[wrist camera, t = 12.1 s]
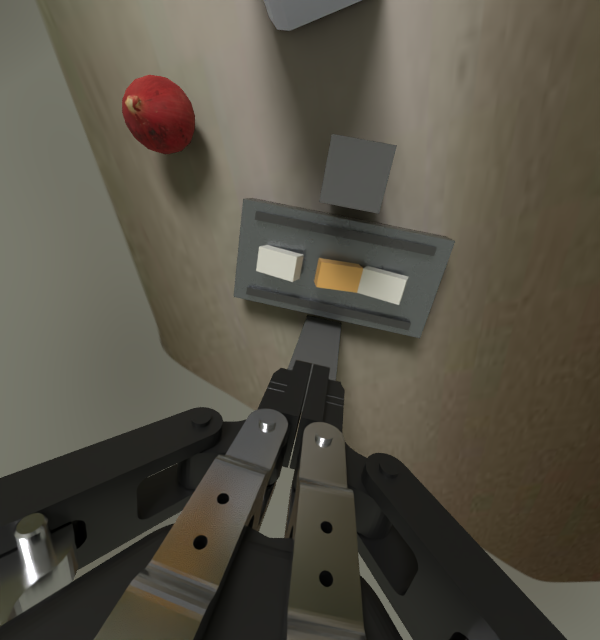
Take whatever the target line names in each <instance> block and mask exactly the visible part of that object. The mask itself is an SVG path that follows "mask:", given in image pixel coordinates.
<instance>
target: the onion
mask: <svg viewBox="0 0 600 640" xmlns="http://www.w3.org/2000/svg"><path fill="white" fill-rule="evenodd" d="M122 113H123V116H124V119H125V123H126V125H127V127H128V128H129V130H130V131H131V133H132V134H133V136H134V137H135V138H136V139H137V140H138V141H139V142H140V143H141V144H143V145H144V146H145V147H147V148H148V149H150V150H153V151H156V152H159V153H163V154H171V153H175V152H179V151H182V150H183V149H184V148H185V147H186V146H187V145H188V144H189V143H190V142H191V139H192V136H193V133H194V130H195V115H194V111H193V108H192V104H191V102H190V100H189V99H188V97H187V96H186V94H185V93H184V91H183V90H182V89H181V88H180V87H179V86H178V85H176V84H175V83H173V82H172V81H171V80H169V79H168V78H165V77H161V76H154V75H147V76H144V77H141V78H138V79H135V80H134V81H133V82H132V83H131V84H130V86H129V87H128V88H127V89H126V92H125V94H124V97H123V100H122Z"/></svg>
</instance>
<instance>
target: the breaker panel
mask: <svg viewBox="0 0 600 640" xmlns="http://www.w3.org/2000/svg"><path fill="white" fill-rule="evenodd" d="M454 243H455V241H454V240H452V239H450V238H448V237H446V236H441V235H436V234H431V233H426V232H421V231H416V230H411V229H405V228H400V227H395V226H390V225H385V224H380V223H375V222H370V221H365V220H360V219H355V218H350V217H345V216H340V215H335V214H330V213H325V212H320V211H315V210H310V209H305V208H300V207H295V206H290V205H285V204H280V203H275V202H270V201H265V200H260V199H255V198H248V199H243V207H242V217H241V227H240V237H239V248H238V258H237V268H236V278H235V288H234V297H237V298H242V299H246V300H251V301H255V302H260V303H264V304H269V305H273V306H278V307H282V308H287V309H291V310H296V311H300V312H305V313H309V314H314V315H318V316H322V317H327V318H331V319H336V320H340V321H345V322H349V323H354V324H358V325H363V326H367V327H372V328H376V329H381V330H385V331H390V332H394V333H399V334H403V335H408V336H412V337H417V338H420V337H421V334H422V331H423V328H424V326H425V323H426V320H427V317H428V315H429V312H430V309H431V306H432V304H433V301H434V298H435V295H436V292H437V290H438V287H439V284H440V281H441V279H442V276H443V273H444V270H445V268H446V265H447V262H448V259H449V257H450V254H451V251H452V248H453V246H454ZM264 245H270V246H273V247H277V248H281V249H284V250H288V251H292V252H295V253H299V254H303V255H304V257H303V262H302V268H301V273H300V279H298V280H296V281H294V282H291V281H288V280H284V279H281V278H278V277H274V276H271V275H268V274H265V273H261V272H258V271H256V268H257V260H258V252H259V246H264ZM319 258H323V259H329V260H336V261H343V262H349V263H356V264H359V265H360V266H361V267H362V268H365V267H366V266H370V267H374V268H378V269H381V270H385V271H389V272H393V273H396V274H400V275H404V276H408V280H407V284H406V287H405V290H404V293H403V296H402V299H401V302H400V304H399V305H397V304H394V303H390V302H387V301H383V300H380V299H377V298H373V297H370V296H366V295H363V294H360V293H355V292H348V291H341V290H333V289H326V288H319V287H316V285H315V283H314V279H315V274H316V269H317V264H318V259H319Z"/></svg>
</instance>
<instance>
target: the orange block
mask: <svg viewBox="0 0 600 640" xmlns="http://www.w3.org/2000/svg"><path fill="white" fill-rule="evenodd" d="M362 272H363V268H362V267H361V266H360V265H359V264H356V263H349V262H343V261H336V260H329V259H323V258H319V259H318V264H317V269H316V274H315V279H314V283H315V285H316V287H319V288H326V289H333V290H341V291H348V292H355V293H357V291H358V287H359V283H360V280H361V276H362Z"/></svg>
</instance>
